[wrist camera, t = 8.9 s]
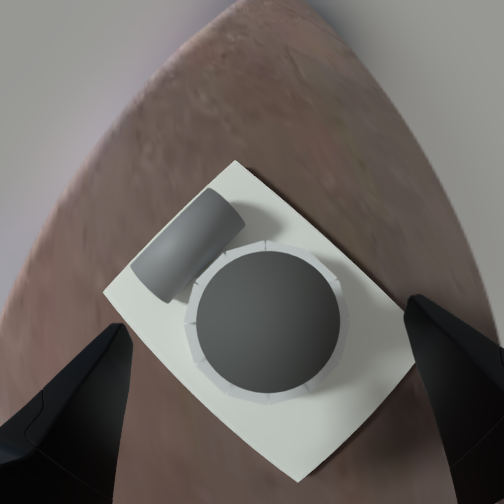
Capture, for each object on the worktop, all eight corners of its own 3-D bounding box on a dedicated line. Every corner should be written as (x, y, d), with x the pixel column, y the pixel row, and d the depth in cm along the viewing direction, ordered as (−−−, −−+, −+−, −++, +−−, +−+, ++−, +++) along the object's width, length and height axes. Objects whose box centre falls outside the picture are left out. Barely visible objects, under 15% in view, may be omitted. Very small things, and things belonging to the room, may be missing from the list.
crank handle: (310, 336, 17) (364, 347, 7) (253, 366, 17) (238, 416, 7) (279, 281, 18) (296, 226, 8) (223, 310, 18) (172, 291, 8)
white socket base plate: (424, 339, 17) (456, 340, 14) (296, 475, 16) (302, 506, 12) (236, 167, 21) (230, 134, 17) (109, 294, 19) (77, 285, 15)
